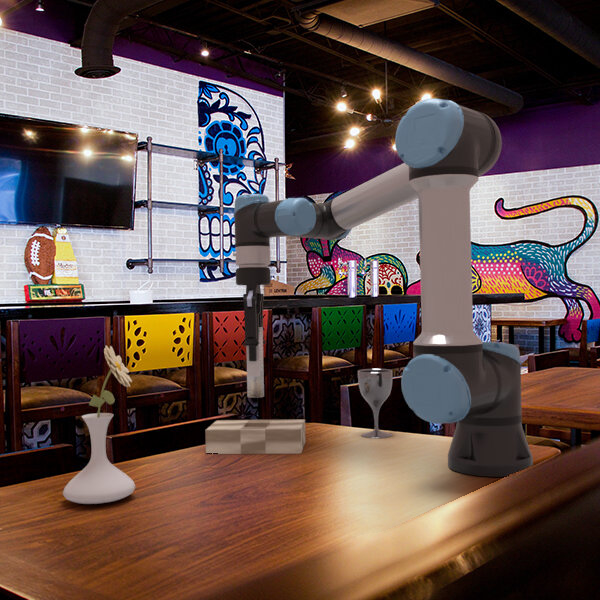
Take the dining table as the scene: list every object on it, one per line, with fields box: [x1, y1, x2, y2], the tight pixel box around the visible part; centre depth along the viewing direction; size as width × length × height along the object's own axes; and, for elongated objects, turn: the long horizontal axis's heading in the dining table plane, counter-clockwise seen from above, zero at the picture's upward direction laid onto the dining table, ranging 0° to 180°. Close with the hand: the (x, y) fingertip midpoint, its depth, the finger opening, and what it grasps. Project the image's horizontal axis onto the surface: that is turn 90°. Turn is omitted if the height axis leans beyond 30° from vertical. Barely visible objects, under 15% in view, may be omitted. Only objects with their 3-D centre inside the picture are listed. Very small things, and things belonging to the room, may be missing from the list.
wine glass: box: [357, 368, 393, 439], centre depth 165 cm, size 8×8×15 cm
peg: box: [245, 326, 265, 399], centre depth 154 cm, size 4×4×15 cm
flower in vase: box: [62, 345, 136, 505], centre depth 117 cm, size 13×11×25 cm
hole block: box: [204, 418, 306, 455], centre depth 154 cm, size 12×20×5 cm, turn 85°
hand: (255, 374), depth 154 cm, fingers closed on peg, 3 cm apart
